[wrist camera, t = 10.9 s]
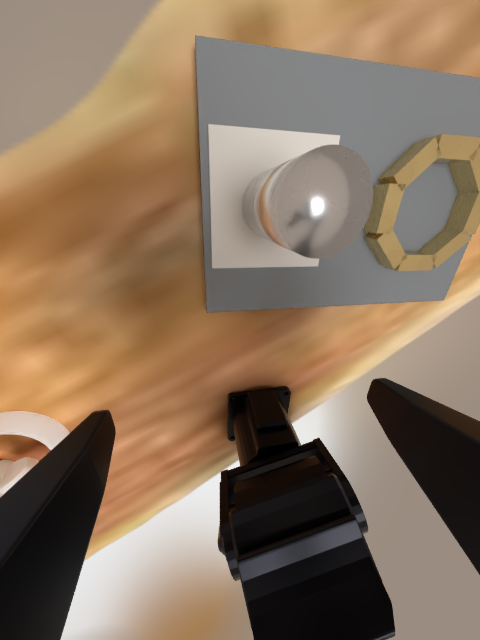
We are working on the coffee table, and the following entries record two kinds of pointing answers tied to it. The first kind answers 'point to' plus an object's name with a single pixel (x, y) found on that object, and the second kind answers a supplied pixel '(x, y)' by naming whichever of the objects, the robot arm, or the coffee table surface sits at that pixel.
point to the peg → (311, 201)
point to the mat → (231, 182)
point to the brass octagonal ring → (466, 214)
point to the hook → (30, 425)
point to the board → (355, 133)
